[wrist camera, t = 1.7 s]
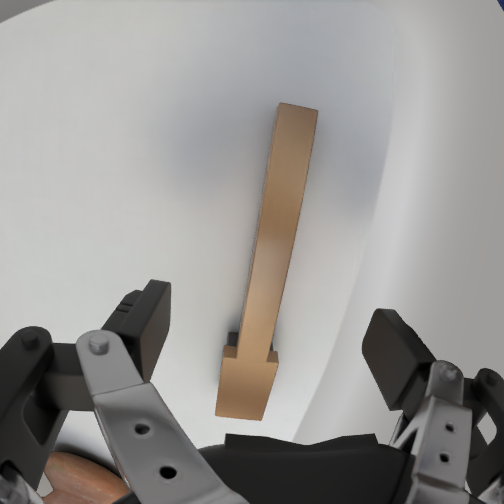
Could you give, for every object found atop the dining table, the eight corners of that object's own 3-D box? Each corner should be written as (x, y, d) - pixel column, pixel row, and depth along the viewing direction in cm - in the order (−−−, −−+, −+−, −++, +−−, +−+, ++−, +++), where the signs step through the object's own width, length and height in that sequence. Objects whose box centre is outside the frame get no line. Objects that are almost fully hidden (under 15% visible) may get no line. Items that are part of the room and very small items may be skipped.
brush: (259, 108, 15) (261, 99, 12) (319, 120, 15) (335, 114, 12) (218, 388, 22) (214, 418, 19) (260, 392, 22) (261, 423, 19)
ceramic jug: (156, 478, 28) (138, 565, 15) (136, 500, 33) (122, 565, 19) (33, 417, 25) (-8, 493, 12) (40, 454, 30) (13, 513, 16)
